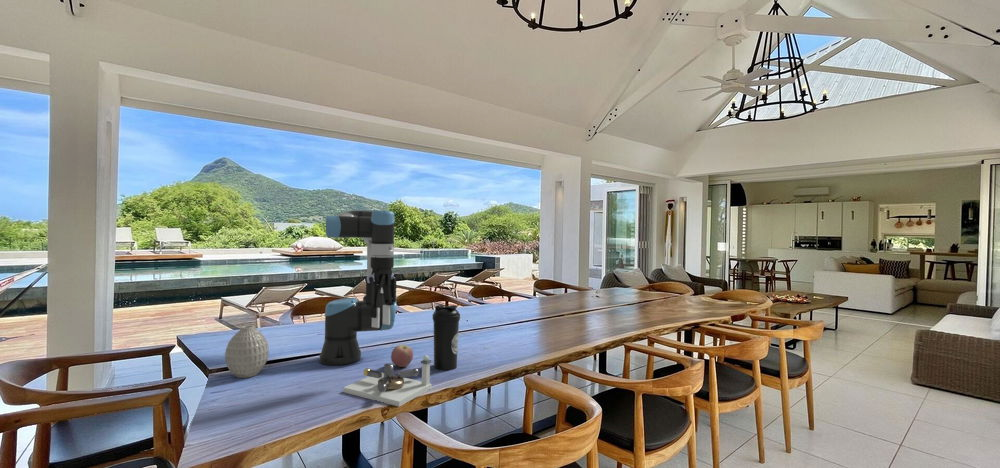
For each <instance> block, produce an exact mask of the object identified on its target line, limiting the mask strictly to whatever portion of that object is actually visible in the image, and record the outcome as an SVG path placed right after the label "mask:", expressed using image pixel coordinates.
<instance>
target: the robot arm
mask: <svg viewBox="0 0 1000 468" xmlns="http://www.w3.org/2000/svg"><path fill="white" fill-rule="evenodd" d="M325 218H326V219H325V236H326V237H327V238H334V239H337V238H339V239H340V238H352V239H354V238H356V239H357V238H360V239H363V242H364V243H366V276H365V277H364V281H365V295H364V296H363V297H362V301H359V300H358V298H357V297H344V298H339V299H334V300H331V301H329V302H328V303H327V304H326V305H325V312H324V341H323V344H322V348H321V352H319V363H321V364H323V365H326V366H340V365H349V364H353V363H356V362H359V360H361V359H362V351H361V349H360V345H359V343H358V339H357V338H358V337H357V333H358V332H374V331H377V332H378V331H381V332H383V331H389V330H391V329H393V327H394V325H395V320H396V313H397V279H398V274H397V273H393V271H392V269H393V268H394V266H395V265H394V264H395V263H394V259H395V258H394V257H393V256H394V251H395V250H394V249H395V246H394V245H395V223H396V220H395V212H394V211H392V210H379V209H378V210H377V209H376V210H349V211H344V212H341V213H339V214H337V215H327V216H326V217H325Z"/></svg>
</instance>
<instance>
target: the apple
mask: <svg viewBox="0 0 1000 468" xmlns="http://www.w3.org/2000/svg"><path fill="white" fill-rule="evenodd" d="M413 351H414V350H413V349H412V348H411V347H410V345H409V346H408V345H407V344H398V345H396V346H395V347H394V348H393V349H392V352H391V353H390V354H391V355H390V359H391V362H392V364H393V365H396V366H398V367H400V368H405V367H407V366H409V364H411V362H413V361H412V360H413V358H414V352H413Z"/></svg>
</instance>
